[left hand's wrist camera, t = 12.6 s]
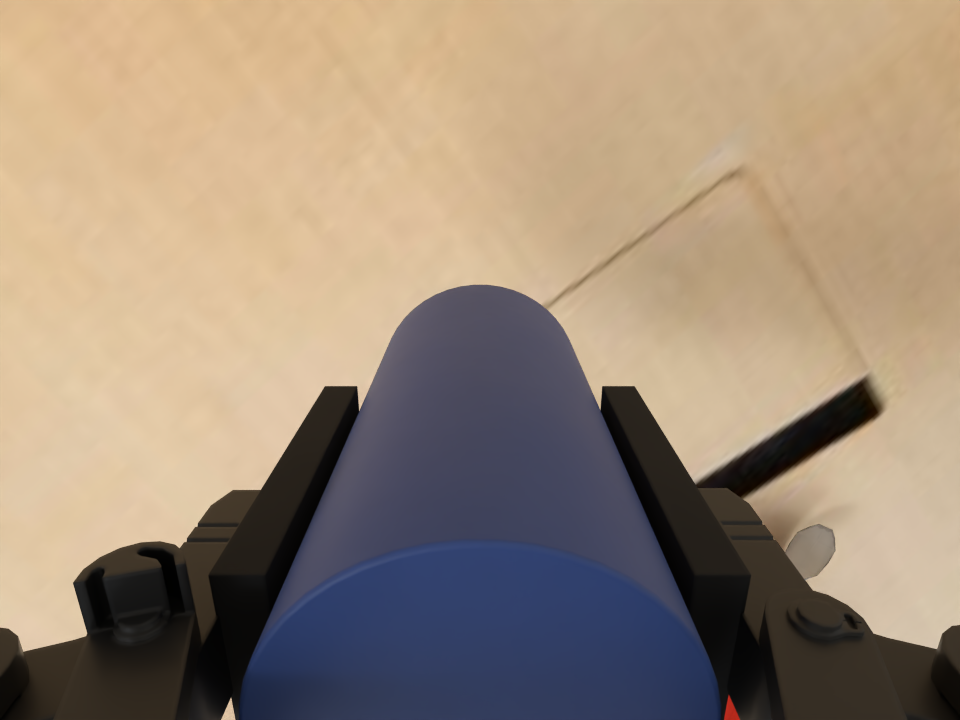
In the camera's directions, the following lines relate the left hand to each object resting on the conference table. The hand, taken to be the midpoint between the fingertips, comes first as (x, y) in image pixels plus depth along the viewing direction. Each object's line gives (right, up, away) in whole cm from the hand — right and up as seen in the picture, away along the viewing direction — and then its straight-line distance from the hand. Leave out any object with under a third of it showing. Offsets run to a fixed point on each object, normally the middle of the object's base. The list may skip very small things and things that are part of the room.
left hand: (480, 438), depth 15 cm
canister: (0, +1, +3) cm, 4 cm away
